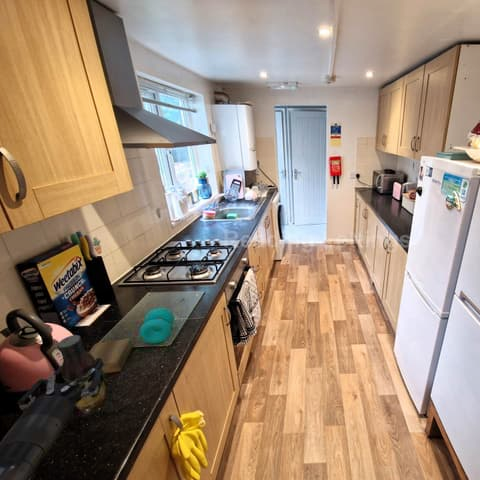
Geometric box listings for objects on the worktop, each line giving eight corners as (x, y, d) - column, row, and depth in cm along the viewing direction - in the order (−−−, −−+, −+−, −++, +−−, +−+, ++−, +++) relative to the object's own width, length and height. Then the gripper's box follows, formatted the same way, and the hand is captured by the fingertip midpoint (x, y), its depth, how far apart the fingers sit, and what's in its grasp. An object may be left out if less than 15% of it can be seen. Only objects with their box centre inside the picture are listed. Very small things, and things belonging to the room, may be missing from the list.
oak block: (81, 377, 84) (77, 368, 83) (98, 352, 94) (94, 343, 92) (121, 370, 87) (117, 361, 85) (133, 346, 97) (130, 338, 95)
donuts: (176, 324, 108) (172, 304, 104) (172, 341, 99) (167, 320, 96) (148, 329, 105) (143, 309, 101) (142, 347, 96) (135, 325, 92)
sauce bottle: (81, 394, 70) (58, 333, 63) (110, 387, 72) (91, 327, 65) (71, 417, 64) (44, 352, 57) (102, 408, 66) (80, 345, 60)
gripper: (75, 407, 51) (113, 346, 66) (-20, 426, 48) (42, 357, 63) (87, 433, 54) (120, 368, 69) (-3, 453, 50) (53, 380, 65)
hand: (83, 363), depth 66 cm, fingers closed on sauce bottle, 6 cm apart
